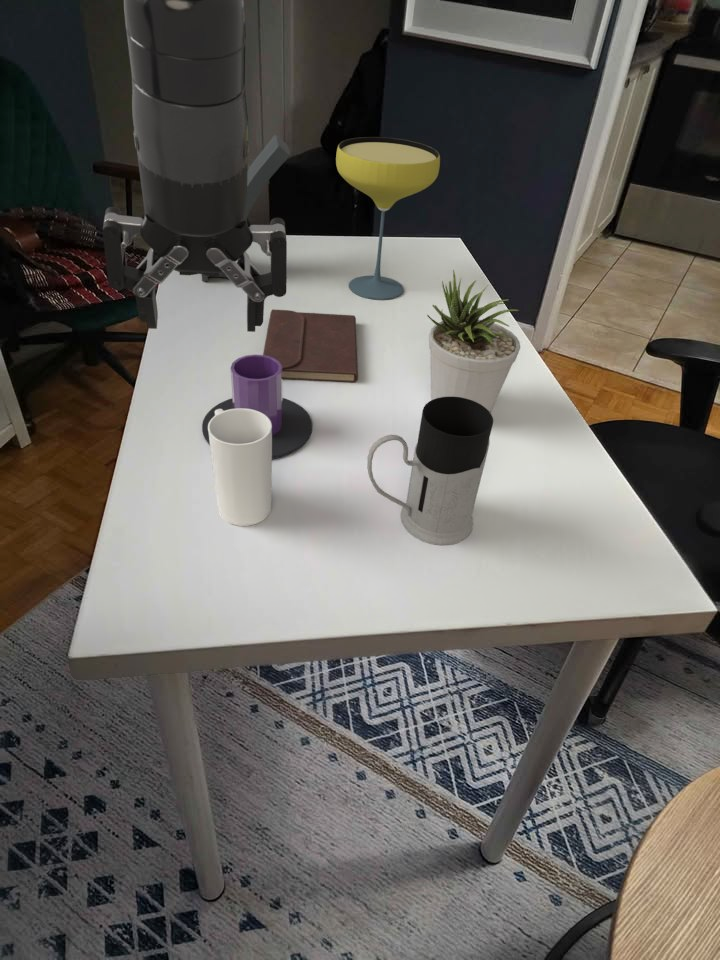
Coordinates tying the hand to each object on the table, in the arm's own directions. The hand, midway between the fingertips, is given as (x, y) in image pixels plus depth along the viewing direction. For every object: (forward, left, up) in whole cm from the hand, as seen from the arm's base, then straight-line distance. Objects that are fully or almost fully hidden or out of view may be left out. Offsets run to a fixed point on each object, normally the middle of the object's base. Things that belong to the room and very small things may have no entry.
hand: (202, 323), depth 58 cm
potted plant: (+39, +15, -25) cm, 49 cm away
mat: (+9, +18, -25) cm, 32 cm away
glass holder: (+22, -6, -25) cm, 34 cm away
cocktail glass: (+43, +57, -25) cm, 75 cm away
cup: (+9, +17, -25) cm, 32 cm away
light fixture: (+20, +70, -25) cm, 77 cm away
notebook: (+23, +37, -25) cm, 50 cm away
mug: (+3, +4, -25) cm, 26 cm away
